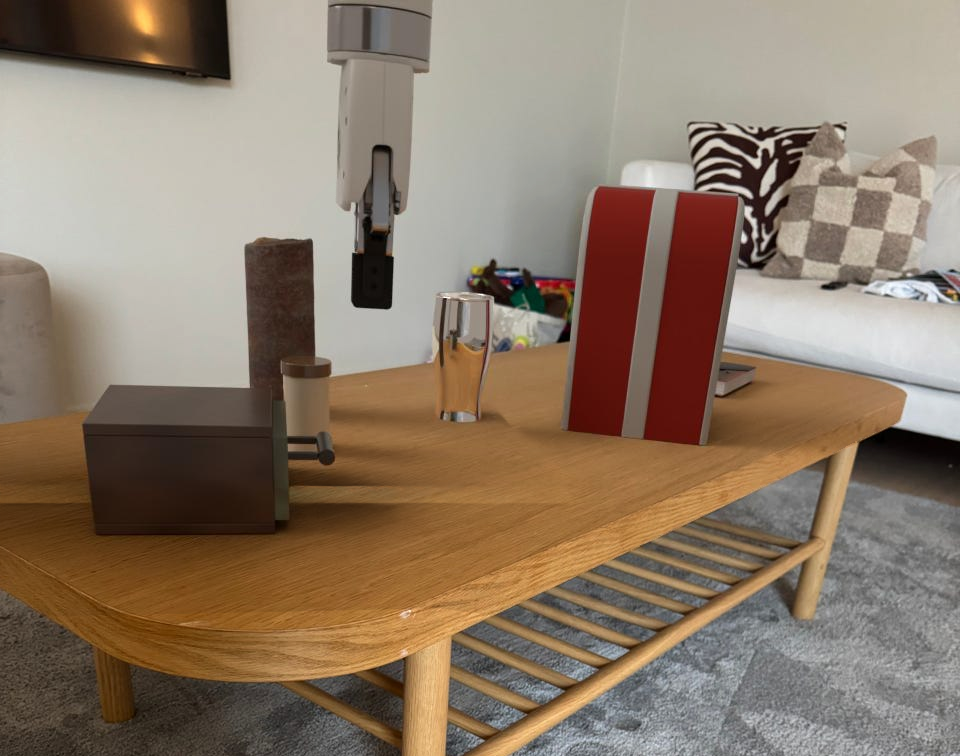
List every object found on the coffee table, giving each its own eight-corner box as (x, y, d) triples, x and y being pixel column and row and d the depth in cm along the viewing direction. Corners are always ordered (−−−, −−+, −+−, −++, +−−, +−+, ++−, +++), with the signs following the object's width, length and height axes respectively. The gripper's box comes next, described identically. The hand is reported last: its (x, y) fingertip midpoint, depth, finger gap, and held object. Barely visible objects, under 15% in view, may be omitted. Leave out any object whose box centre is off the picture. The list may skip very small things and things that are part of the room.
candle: (295, 439, 104) (291, 241, 95) (237, 429, 106) (227, 234, 97) (328, 424, 111) (327, 238, 102) (273, 415, 113) (267, 232, 104)
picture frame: (753, 382, 152) (627, 362, 161) (756, 366, 151) (629, 347, 160) (722, 398, 139) (587, 375, 148) (725, 381, 138) (588, 359, 147)
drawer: (329, 475, 90) (329, 401, 87) (337, 520, 79) (337, 437, 76) (145, 474, 87) (138, 397, 84) (127, 520, 76) (118, 434, 73)
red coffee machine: (575, 402, 130) (598, 183, 118) (706, 416, 128) (743, 193, 116) (559, 429, 116) (584, 182, 104) (707, 446, 113) (750, 195, 101)
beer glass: (418, 431, 111) (423, 294, 104) (442, 419, 117) (448, 289, 110) (473, 440, 109) (482, 301, 102) (495, 428, 114) (505, 295, 108)
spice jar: (283, 471, 93) (280, 364, 89) (283, 457, 98) (280, 355, 93) (333, 471, 94) (332, 366, 90) (330, 458, 98) (330, 356, 94)
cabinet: (274, 482, 90) (271, 388, 86) (274, 534, 78) (271, 426, 74) (119, 482, 87) (109, 384, 83) (95, 535, 75) (81, 423, 71)
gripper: (322, 48, 76) (320, 292, 84) (333, 26, 63) (329, 318, 71) (416, 59, 77) (405, 298, 85) (446, 39, 64) (430, 324, 72)
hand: (371, 306), depth 78 cm, fingers closed
